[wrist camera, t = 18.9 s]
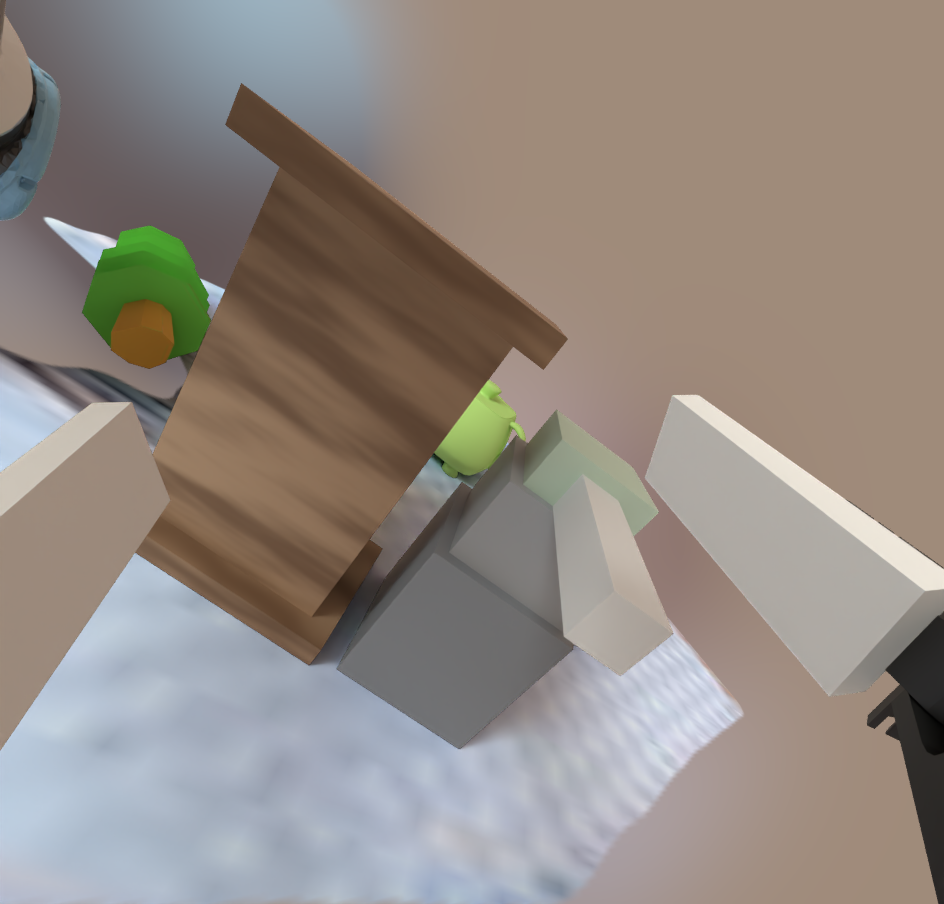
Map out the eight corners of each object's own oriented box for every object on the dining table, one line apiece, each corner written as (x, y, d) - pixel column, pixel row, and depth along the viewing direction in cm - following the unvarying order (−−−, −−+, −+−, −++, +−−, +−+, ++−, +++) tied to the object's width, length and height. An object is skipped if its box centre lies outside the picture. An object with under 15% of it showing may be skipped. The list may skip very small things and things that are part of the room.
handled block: (665, 708, 18) (741, 653, 17) (515, 602, 18) (581, 536, 16) (599, 501, 37) (632, 467, 36) (525, 446, 36) (556, 409, 35)
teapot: (506, 475, 90) (555, 417, 85) (471, 505, 70) (533, 431, 65) (419, 399, 94) (460, 339, 88) (362, 407, 74) (412, 329, 68)
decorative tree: (132, 267, 38) (150, 175, 56) (34, 345, 38) (84, 229, 57) (239, 352, 46) (224, 248, 65) (158, 414, 47) (166, 294, 66)
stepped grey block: (459, 749, 35) (645, 586, 28) (336, 669, 34) (496, 477, 27) (477, 640, 46) (613, 503, 39) (385, 577, 45) (507, 425, 38)
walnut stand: (308, 665, 33) (567, 339, 23) (75, 514, 31) (241, 83, 21) (373, 561, 46) (555, 324, 36) (211, 450, 44) (354, 166, 34)
